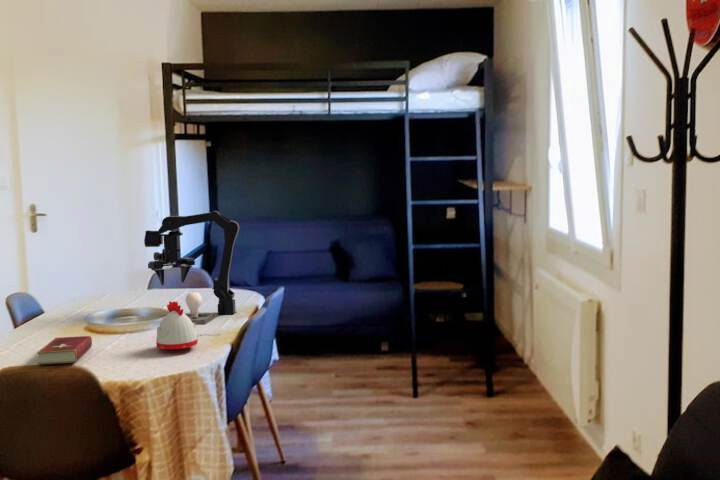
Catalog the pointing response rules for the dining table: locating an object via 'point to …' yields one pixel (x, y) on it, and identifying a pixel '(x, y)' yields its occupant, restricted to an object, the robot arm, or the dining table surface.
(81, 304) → the dining table surface
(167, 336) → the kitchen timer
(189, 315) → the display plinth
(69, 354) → the hardcover book
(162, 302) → the dining table surface
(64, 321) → the dining table surface
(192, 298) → the light bulb
